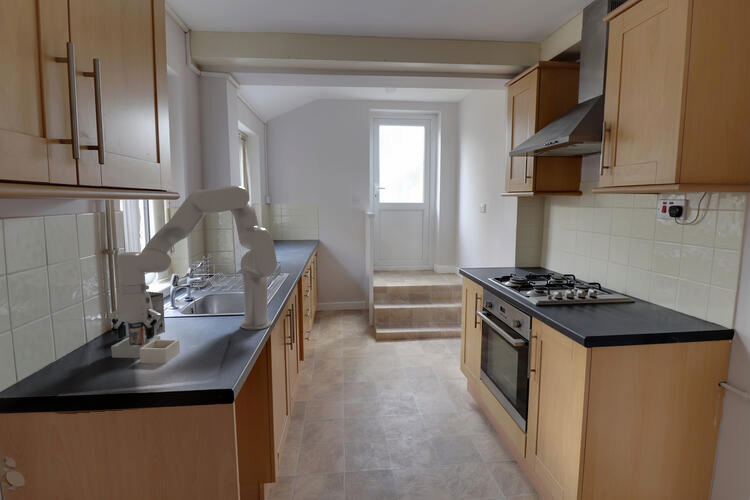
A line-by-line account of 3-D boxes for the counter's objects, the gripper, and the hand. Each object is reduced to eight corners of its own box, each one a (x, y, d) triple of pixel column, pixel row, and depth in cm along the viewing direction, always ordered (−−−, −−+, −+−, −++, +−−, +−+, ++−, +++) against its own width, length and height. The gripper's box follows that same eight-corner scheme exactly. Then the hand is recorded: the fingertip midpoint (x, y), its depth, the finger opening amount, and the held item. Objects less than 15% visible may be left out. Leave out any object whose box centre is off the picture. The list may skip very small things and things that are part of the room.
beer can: (127, 355, 131) (125, 320, 130) (132, 350, 136) (129, 316, 134) (143, 353, 132) (141, 319, 131) (147, 348, 137) (145, 315, 135)
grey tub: (132, 347, 139) (131, 335, 139) (160, 348, 139) (160, 335, 138) (112, 359, 129) (111, 346, 128) (143, 360, 129) (142, 346, 128)
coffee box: (134, 334, 153) (131, 294, 151) (148, 329, 159) (146, 290, 157) (152, 336, 150) (149, 296, 148) (166, 331, 157) (163, 292, 154)
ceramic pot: (155, 354, 133) (154, 339, 132) (179, 355, 133) (179, 339, 132) (140, 365, 125) (139, 348, 124) (166, 365, 125) (165, 349, 124)
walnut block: (156, 356, 130) (155, 346, 130) (167, 355, 131) (167, 345, 130) (153, 360, 127) (152, 350, 126) (165, 359, 127) (164, 349, 127)
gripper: (164, 286, 135) (167, 334, 137) (115, 286, 135) (118, 333, 137) (151, 291, 127) (154, 341, 129) (99, 291, 127) (103, 341, 130)
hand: (136, 337), depth 133 cm, fingers open, 9 cm apart
